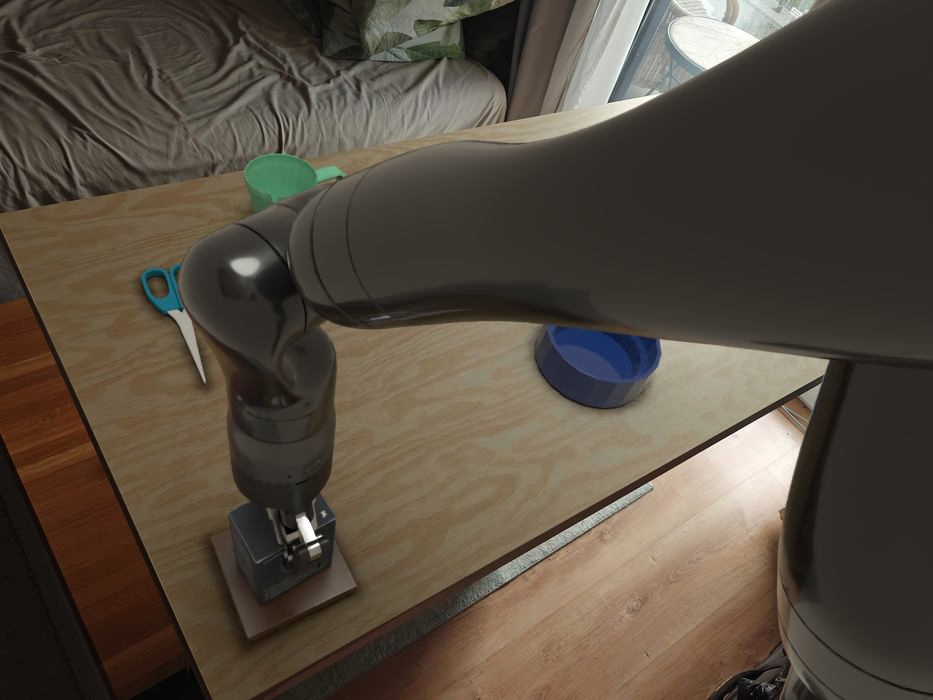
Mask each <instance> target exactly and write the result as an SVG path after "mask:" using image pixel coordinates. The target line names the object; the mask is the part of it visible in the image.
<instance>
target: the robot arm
mask: <svg viewBox="0 0 933 700" xmlns="http://www.w3.org/2000/svg"><path fill="white" fill-rule="evenodd" d="M180 264H181V266H180V269H179V272H177V281H176V283H177V288H178V294H179V297H180V300H181V303H182V305H183V307H184V309H185V311H186V313H187V314H188V316H189V318H190V319H191V321H192V325H193V326H194V327H195V328H196V329H197V331H198V333H200V335H201V336H202V338H203V339H204V340H205V342H206V343H207V345H208V346H209V348H210V350H211V351H212V353H213V356H214V357H215V359H216V362H217V363H218V365H219V367H220V370H221V372H222V374H223V376H224V377H223V378H224V384H225V391H226V399H227V411H226V412H227V413H226V434H227V441H228V450H229V457H230V458H229V459H230V465H231V466H230V467H231V473H232V478H233V481H234V484H235V486H236V488H237V490H238V491H239V492H240V493H241V494H242V496H244V497H245V498H246V499H247V500H249V501H251V502H253V503H255V504H257V505H259V506H262V507H264V509H265V511H266V513H267V514H268V516H269V518H270V521H271V525H272V530H273V534H274V536H275V537H276V539H277V541H278V543H279V544H281V545H282V546H283V552H284V553H283V555H284V566H285V569H286V571H287V572H290V571H292V573H293V575H295V577H296V578H297V577H300V576H302V575H303V574H305V573H307V572H309V571H311V570H314V569H316V568H318V567H322V566H324V565H325V562H326V560H327V557H328V554H329V552H330V549H331V547H330V544H331V543H330V540H329V538H327V536H326V535H323V536H322V534H319V535H316V536H315V534H314V531H315V530H316V529H317V527H318V524H317V519H316V513H315V508H314V503H315V501H316V497H317V495H318V494H319V493H321V492H322V491H323V490H324V488H325V486H326V485H327V483H328V481H329V480H330V476H331V474H332V470H333V469H332V468H333V459H334V448H335V439H336V437H335V436H336V429H337V427H336V426H337V412H336V405H335V400H336V390H337V389H336V388H337V379H338V378H337V376H338V360H337V359H338V357H337V350H336V347H335V344H334V342H333V340H332V338H331V336H330V335H329V334H328V332H327V331H326V330H325V329H324V328H323V327H322V325H324V324H325V323H326V322H330V323H332V324H335V325H338V326H341V327H344V328H347V329H348V328H349V329H355V330H369V331H370V330H388V329H397V328H398V329H399V328H409V327H410V328H411V327H420V326H435V325H445V324H455V323H456V324H457V323H473V322H507V323H508V322H509V323H526V324H527V323H528V324H536V325H543V324H544V325H554V326H562V327H570V328H578V329H586V330H593V331H601V332H608V333H615V334H623V335H631V336H639V337H646V338H654V339H659V340H661V341H662V340H664V341H670V342H679V343H680V342H681V343H688V344H689V343H690V344H698V345H699V344H700V345H701V344H702V345H709V346H710V345H711V346H716V347H717V346H718V347H726V348H734V349H735V348H736V349H741V350H748V351H749V350H750V351H759V352H765V353H774V354H781V355H789V356H797V357H805V358H811V359H812V358H813V359H819V360H826V361H827V360H828V362H827V365H826V368H825V371H824V373H823V377H822V380H821V383H820V386H819V389H818V392H817V395H816V398H815V400H814V404H813V406H812V410H811V413H810V416H809V419H808V421H807V425H806V428H805V430H804V434H803V438H802V440H801V444H800V447H799V451H798V454H797V458H796V461H795V464H794V468H793V472H792V477H791V480H790V483H789V484H790V485H789V489H788V492H787V498H786V502H785V506H784V511H783V517H782V523H781V528H780V532H779V533H780V534H779V539H778V549H777V571H776V572H777V576H776V606H777V607H776V608H777V620H778V628H779V636H780V640H781V642H782V647H783V649H784V651H785V654H786V656H787V658H788V660H789V663H790V667H789V670H788V673H787V676H786V680H785V681H784V684H783V686H782V690H781V693H780V696H779V698H778V700H933V0H814V2H813V3H812V5H811V6H810V8H809V9H808V10H807V12H806V13H804V14H802V15H800V16H799V17H797V18H796V19H793V20H792V21H790V22H788V23H787V24H785V25H784V26H782V27H780V28H778V29H777V30H774V31H773V32H772V33H770V34H768V35H767V36H765V37H763V38H762V39H760V40H758V41H757V42H755V43H753V44H752V45H750V46H748V47H746V48H745V49H743V50H741V51H739V52H737V53H736V54H734V55H732V56H730V57H728V58H727V59H725V60H723V61H721V62H719V63H718V64H716V65H714V66H712V67H710V68H708V69H706V70H704V71H703V72H701V73H699V74H697V75H695V76H693V77H692V78H690V79H688V80H686V81H684V82H682V83H680V84H678V85H676V86H674V87H673V88H670V89H668V90H666V91H665V92H663V93H661V94H658V95H657V96H655V97H653V98H650V99H649V100H647V101H645V102H643V103H641V104H639V105H637V106H635V107H633V108H631V109H628V110H626V111H624V112H622V113H619V114H617V115H615V116H613V117H610V118H607V119H605V120H602V121H600V122H597V123H595V124H592V125H589V126H587V127H583V128H581V129H578V130H575V131H571V132H568V133H565V134H561V135H558V136H555V137H549V138H544V139H540V140H534V141H529V142H505V141H504V142H503V141H493V140H479V139H478V140H477V139H465V140H464V139H462V140H461V139H460V140H451V141H446V142H445V141H444V142H440V143H436V144H431V145H427V146H423V147H419V148H415V149H413V150H409V151H407V152H404V153H399V154H398V155H395V156H393V157H390V158H386V159H385V160H383V161H380V162H377V163H375V164H373V165H369V166H367V167H365V168H363V169H360V170H357V171H355V172H352V173H350V174H346V176H345V177H343V178H341V179H339V180H337V181H336V180H335V181H333V182H328V183H323V184H322V183H321V184H318V185H317V186H315V187H312V188H309V189H307V190H304V191H301V192H299V193H296V194H294V195H291V196H289V197H287V198H284V199H282V200H280V201H278V202H276V203H274V204H271V205H269V206H267V207H265V208H263V209H261V210H259V211H257V212H255V211H254V212H253V213H251V214H249V215H246V216H244V217H242V218H240V219H238V220H235V221H233V222H232V223H230V224H227V225H225V226H223V227H220V228H218V229H216V230H214V231H212V232H210V233H207V234H205V235H204V236H202V237H201V238H199V239H198V240H196V241H195V242H194V243H193V244H192V245H191V246H190V247H189V248H188V249H187V251H186V253H185V254H184V256H183V258H182V260H181V262H180ZM280 522H281V523H283V524H284V525H285V526H281V523H280ZM299 537H300V541H298V542H296V543H293V544H291V541H292V540H294V539H296V538H299Z"/></svg>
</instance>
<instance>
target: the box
mask: <svg viewBox="0 0 933 700" xmlns="http://www.w3.org/2000/svg"><path fill="white" fill-rule="evenodd" d="M314 508H315V513H316V519H317V524H318V527H317V529H316V530H315V531H314V534H315V536H316V535H319V534H322V536H323V535H326V536H327V538H329V540H330V543H331V544H330V547H331V549H330V552H329V554H328V557H327V560H326V562H325V565H324V566H322V567H318V568H316V569H314V570H311V571H309V572H307V573H305V574H303V575H302V576H300V577H297V578H296V577H295V575H293V573H292V571H290V572H287V571H286V569H285V566H284V555H283V553H284V552H283V546H282V545H281V544H279V543H278V541H277V539H276V537H275V536H274V534H273V530H272V525H271V521H270V518H269V516H268V514H267V513H266V511H265V509H264V507H262V506H259V505H257V504H255V503H253V502H251V501H250V500H249V501H247V502H245V503H243V504H241V505H239V506H237V507H235V508H233V509H231V510H229V511H227V515H228V521H229V529H231V535H232V541H233V547H234V553H235V559H236V561H237V563H238V565H239V567H240V569H241V571H242V573H243V574H244V576H245V578H246V580H247V582H248V584H249V586H250V588H251V589H252V591H253V593H254V595H255V597H256V599H257V601H258V603H259V604H260V605H263V604H265V603H267V602H269V601H271V600H272V599H274V598H275V597H277V596H279V595H280V594H282V593H284V592H286V591H287V590H289V589H291V588H292V587H294V586H296V585H297V584H299V583H301V582H302V581H304V580H306V579H307V578H309V577H311V576H312V575H314V574H316V573H317V572H319V571H321V570H322V569H324V568H326V567H327V566H329V565H331V564H332V557H333V546H334V538H335V534H336V524H337V521H336V520H337V516H336V514H335V512H334V511H333V510H332V508H331V507H330V506H329V504H328V503H327V501H326V499H325V498H324V496H323V494H322V493H321V492H320V493H319V494H318V495H317V497H316V501H315V503H314ZM280 523H281V522H280ZM281 526H285V525H284V524H283V523H281ZM298 541H300V537H299V538H296V539H294V540H292V541H291V544H293V543H296V542H298Z"/></svg>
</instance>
